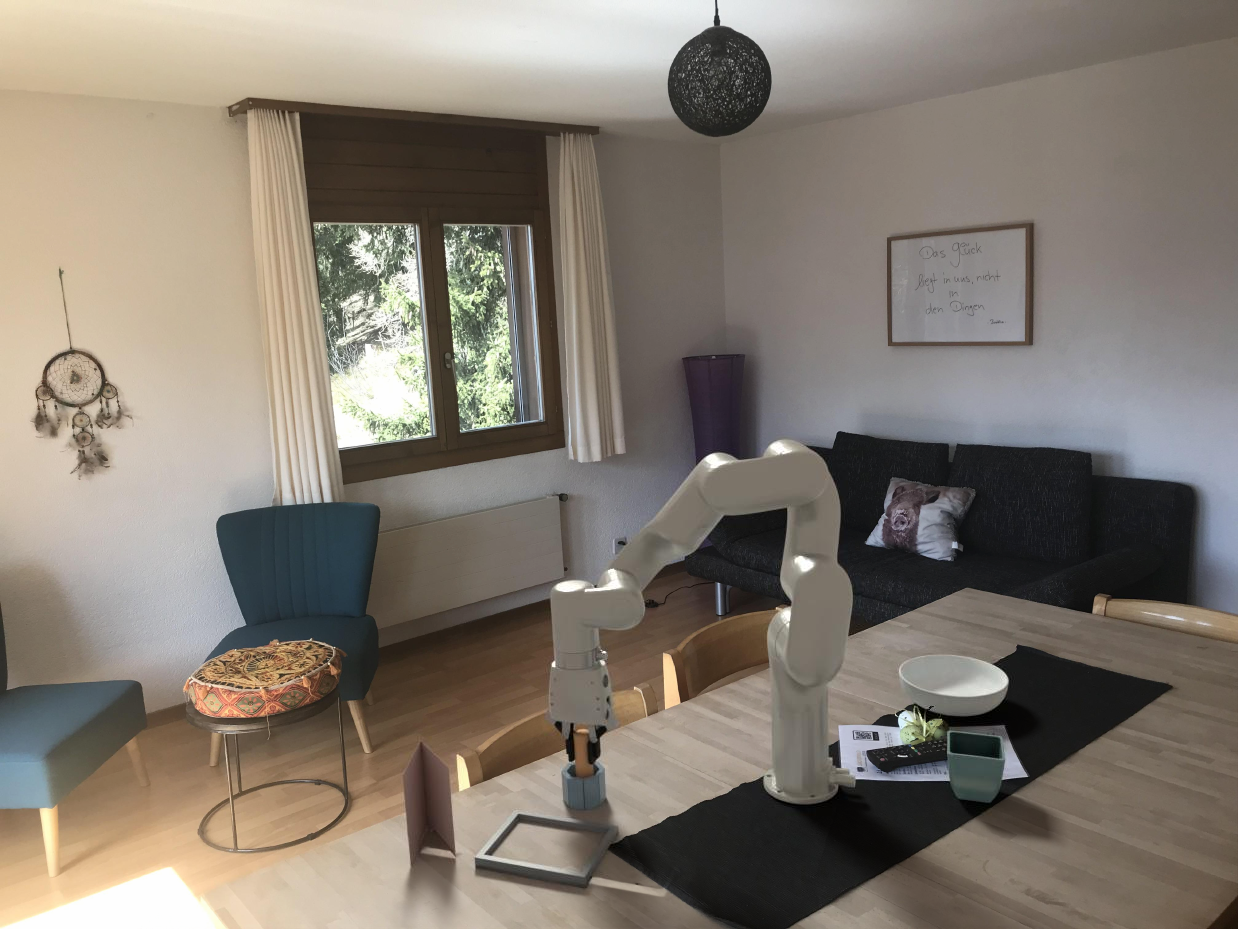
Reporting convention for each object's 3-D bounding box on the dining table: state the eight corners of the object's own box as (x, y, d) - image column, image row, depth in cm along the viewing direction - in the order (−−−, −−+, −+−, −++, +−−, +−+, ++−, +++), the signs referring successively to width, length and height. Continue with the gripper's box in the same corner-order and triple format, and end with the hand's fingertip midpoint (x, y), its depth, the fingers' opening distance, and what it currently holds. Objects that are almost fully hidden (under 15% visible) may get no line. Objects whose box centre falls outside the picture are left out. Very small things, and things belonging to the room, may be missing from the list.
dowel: (597, 790, 161) (593, 730, 159) (591, 799, 158) (587, 738, 156) (581, 788, 162) (577, 728, 160) (574, 797, 159) (570, 736, 157)
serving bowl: (893, 721, 186) (893, 688, 184) (904, 680, 205) (904, 650, 204) (1007, 735, 178) (1008, 700, 177) (1007, 691, 197) (1008, 660, 196)
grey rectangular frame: (618, 836, 150) (617, 826, 150) (585, 888, 137) (584, 877, 137) (516, 819, 156) (515, 809, 156) (475, 868, 143) (474, 857, 143)
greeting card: (422, 825, 156) (415, 740, 153) (467, 824, 156) (460, 739, 153) (405, 866, 145) (396, 775, 142) (453, 865, 144) (445, 774, 142)
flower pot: (1001, 784, 160) (1002, 735, 159) (1004, 811, 152) (1005, 760, 150) (946, 778, 163) (947, 729, 162) (946, 804, 155) (947, 753, 153)
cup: (610, 795, 162) (608, 763, 161) (596, 816, 156) (594, 782, 155) (574, 790, 165) (572, 758, 164) (558, 810, 158) (556, 777, 157)
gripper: (631, 651, 157) (637, 755, 160) (541, 644, 162) (548, 744, 165) (615, 668, 150) (621, 776, 153) (522, 660, 155) (530, 764, 158)
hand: (583, 758), depth 159 cm, fingers closed on dowel, 3 cm apart
